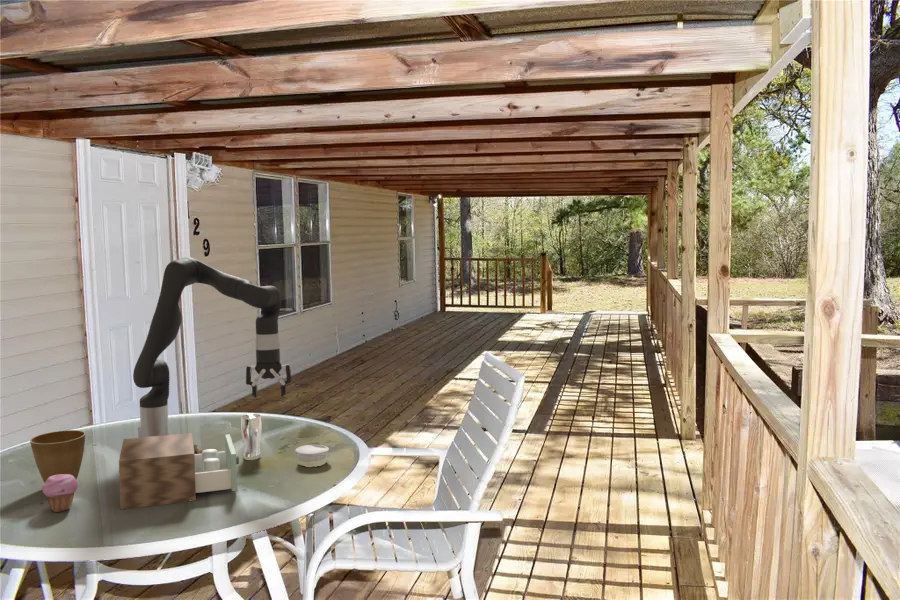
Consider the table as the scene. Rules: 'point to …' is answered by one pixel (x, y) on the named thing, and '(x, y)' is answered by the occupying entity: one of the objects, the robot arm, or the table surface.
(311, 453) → the ramekin
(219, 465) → the drawer
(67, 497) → the cupcake
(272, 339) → the robot arm
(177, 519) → the table surface
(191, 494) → the wooden drawer cabinet
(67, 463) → the plant pot
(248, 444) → the beer glass
